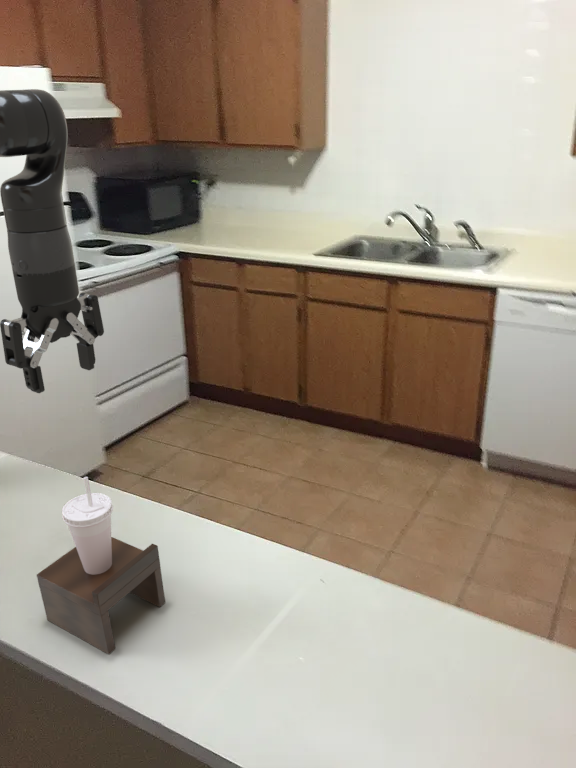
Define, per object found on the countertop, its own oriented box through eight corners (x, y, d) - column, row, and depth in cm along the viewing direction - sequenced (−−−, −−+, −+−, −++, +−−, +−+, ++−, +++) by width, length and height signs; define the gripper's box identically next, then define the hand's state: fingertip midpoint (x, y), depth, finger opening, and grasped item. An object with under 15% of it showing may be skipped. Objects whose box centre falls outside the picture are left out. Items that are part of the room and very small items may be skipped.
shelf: (47, 620, 93) (33, 562, 88) (105, 573, 101) (95, 519, 97) (108, 654, 87) (97, 594, 83) (165, 602, 95) (157, 545, 91)
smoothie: (110, 583, 87) (94, 493, 81) (64, 579, 88) (45, 489, 82) (129, 552, 93) (115, 466, 87) (86, 548, 94) (69, 462, 88)
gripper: (68, 247, 91) (84, 356, 98) (-26, 272, 81) (0, 392, 87) (106, 254, 88) (121, 367, 95) (14, 281, 77) (38, 406, 84)
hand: (63, 379), depth 91 cm, fingers open, 8 cm apart
